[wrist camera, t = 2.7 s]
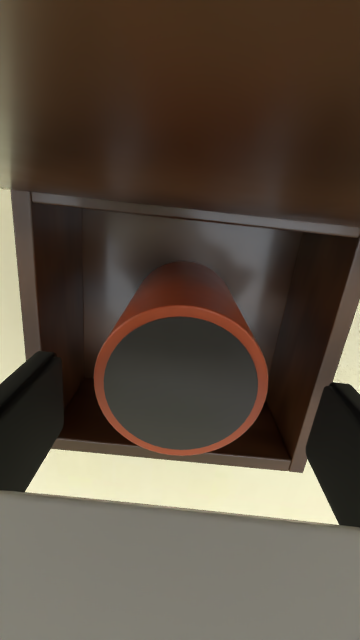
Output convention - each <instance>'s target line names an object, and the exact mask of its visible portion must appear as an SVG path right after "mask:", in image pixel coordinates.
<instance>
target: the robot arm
mask: <svg viewBox="0 0 360 640" xmlns="http://www.w3.org/2000/svg"><path fill="white" fill-rule="evenodd" d="M63 424H64V404H63V377H62V359H61V358H60V357H57V354H56V353H54V352H45V351H37V352H36V353H35V354H34V355H33V356H31V357H30V358H29V359H28V360H27V361H26V362H25V363H24V364H22V365H21V366H20V367H19V368H18V369H17V370H16V371H15V372H13V373H12V374H11V375H10V376H9V377H8V378H7V379H6V380H4V381H3V382H2V383H1V384H0V640H360V394H359V393H358V392H357V391H356V390H355V389H354V388H353V387H352V386H351V385H350V384H343V383H334V382H332V383H330V384H329V386H325V387H324V389H323V392H322V395H321V398H320V402H319V405H318V408H317V411H316V415H315V418H314V421H313V424H312V428H311V431H310V434H309V437H308V441H307V444H306V456H307V459H308V461H309V463H310V465H311V467H312V469H313V471H314V473H315V475H316V477H317V479H318V481H319V484H320V486H321V488H322V490H323V492H324V494H325V496H326V498H327V500H328V502H329V504H330V506H331V509H332V511H333V513H334V515H335V517H336V519H337V521H338V523H339V525H333V524H324V523H315V522H306V521H297V520H288V519H280V518H271V517H262V516H252V515H243V514H234V513H224V512H215V511H206V510H196V509H187V508H177V507H168V506H158V505H149V504H139V503H129V502H119V501H109V500H99V499H89V498H79V497H69V496H59V495H48V494H38V493H27V492H25V491H26V489H27V487H28V486H29V484H30V482H31V481H32V479H33V477H34V476H35V474H36V472H37V471H38V469H39V467H40V466H41V464H42V462H43V461H44V459H45V457H46V456H47V454H48V452H49V451H50V449H51V447H52V446H53V444H54V442H55V441H56V439H57V437H58V436H59V434H60V432H61V430H62V428H63Z"/></svg>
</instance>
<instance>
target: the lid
mask: <svg viewBox="0 0 360 640" xmlns="http://www.w3.org/2000/svg"><path fill="white" fill-rule="evenodd" d="M0 188H2V189H11V190H20V191H29V192H38V193H48V194H57V195H66V196H75V197H84V198H94V199H103V200H112V201H121V202H130V203H140V204H149V205H158V206H167V207H176V208H185V209H195V210H204V211H213V212H222V213H231V214H241V215H250V216H259V217H268V218H277V219H287V220H296V221H305V222H314V223H323V224H333V225H342V226H351V227H360V0H0Z"/></svg>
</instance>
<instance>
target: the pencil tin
mask: <svg viewBox="0 0 360 640" xmlns="http://www.w3.org/2000/svg"><path fill="white" fill-rule="evenodd" d="M94 389H95V394H96V398H97V401H98V404H99V406H100V408H101V410H102V412H103V414H104V416H105V417H106V419H107V420H108V421H109V423H110V424H111V425H112V426H113V427H114V428H115V429H116V430H117V431H118V432H119V433H120V434H121V435H122V436H124V437H125V438H127V439H128V440H130V441H131V442H133V443H135V444H136V445H138V446H140V447H143V448H145V449H148V450H150V451H154V452H157V453H161V454H167V455H178V456H185V455H197V454H203V453H207V452H211V451H213V450H216V449H219V448H221V447H223V446H225V445H227V444H229V443H231V442H233V441H234V440H236V439H237V438H239V437H240V436H241V435H242V434H243V433H245V432H246V431H247V430H248V429H249V427H250V426H251V425H252V424H253V423H254V421H255V420H256V419H257V417H258V416H259V414H260V412H261V410H262V408H263V405H264V402H265V399H266V395H267V390H268V371H267V366H266V362H265V358H264V356H263V354H262V352H261V349H260V347H259V345H258V344H257V342H256V340H255V338H254V336H253V334H252V332H251V331H250V329H249V327H248V325H247V323H246V321H245V319H244V317H243V316H242V314H241V312H240V310H239V308H238V306H237V304H236V302H235V301H234V299H233V297H232V295H231V293H230V291H229V289H228V287H227V286H226V284H225V283H224V281H223V280H222V279H221V278H220V276H218V275H217V274H216V273H215V272H214V271H212V270H211V269H209V268H208V267H206V266H204V265H201V264H198V263H194V262H187V261H180V262H172V263H168V264H165V265H163V266H161V267H159V268H157V269H155V270H154V271H152V272H151V273H150V274H149V275H148V276H147V277H146V278H145V279H144V280H143V282H142V283H141V285H140V286H139V288H138V290H137V291H136V293H135V294H134V296H133V298H132V299H131V301H130V302H129V304H128V306H127V307H126V309H125V311H124V312H123V314H122V315H121V317H120V319H119V320H118V322H117V323H116V325H115V327H114V328H113V330H112V331H111V333H110V335H109V336H108V338H107V339H106V341H105V343H104V344H103V346H102V347H101V350H100V352H99V354H98V357H97V360H96V364H95V369H94Z"/></svg>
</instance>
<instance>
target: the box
mask: <svg viewBox="0 0 360 640" xmlns="http://www.w3.org/2000/svg"><path fill="white" fill-rule="evenodd" d="M11 200H12V211H13V222H14V233H15V244H16V255H17V266H18V277H19V288H20V299H21V310H22V322H23V333H24V344H25V355H26V361H27V360H28V359H29V358H30V357H31V356H33V355H34V354H35V353H36V352H37V351H45V352H54V353H56V354H57V357H60V358H61V359H62V377H63V404H64V424H63V428H62V430H61V432H60V434H59V436H58V437H57V439H56V441H55V442H54V444H53V446H52V447H51V449H60V450H71V451H81V452H91V453H102V454H112V455H123V456H133V457H144V458H154V459H165V460H175V461H186V462H196V463H207V464H217V465H228V466H238V467H249V468H259V469H270V470H280V471H290V472H299V473H303V471H304V468H305V465H306V461H307V456H306V444H307V441H308V437H309V434H310V431H311V428H312V424H313V421H314V418H315V415H316V411H317V408H318V405H319V402H320V398H321V395H322V392H323V389H324V387H325V386H329V384H330V383H332V382H333V379H334V376H335V373H336V370H337V367H338V364H339V361H340V358H341V354H342V351H343V348H344V345H345V342H346V339H347V336H348V333H349V330H350V327H351V324H352V321H353V318H354V315H355V312H356V309H357V306H358V302H359V299H360V227H351V226H342V225H333V224H323V223H314V222H305V221H296V220H287V219H277V218H268V217H259V216H250V215H241V214H231V213H222V212H213V211H204V210H195V209H185V208H176V207H167V206H158V205H149V204H140V203H130V202H121V201H112V200H103V199H94V198H84V197H75V196H66V195H57V194H48V193H38V192H29V191H20V190H11ZM180 261H187V262H194V263H198V264H201V265H204V266H206V267H208V268H209V269H211V270H212V271H214V272H215V273H216V274H217V275H218V276H220V278H221V279H222V280H223V281H224V283H225V284H226V286H227V287H228V289H229V291H230V293H231V295H232V297H233V299H234V301H235V302H236V304H237V306H238V308H239V310H240V312H241V314H242V316H243V317H244V319H245V321H246V323H247V325H248V327H249V329H250V331H251V332H252V334H253V336H254V338H255V340H256V342H257V344H258V345H259V347H260V349H261V352H262V354H263V356H264V358H265V362H266V366H267V371H268V390H267V395H266V399H265V402H264V405H263V408H262V410H261V412H260V414H259V416H258V417H257V419H256V420H255V421H254V423H253V424H252V425H251V426H250V427H249V429H248V430H247V431H246V432H245V433H243V434H242V435H241V436H240V437H239V438H237V439H236V440H234V441H233V442H231V443H229V444H227V445H225V446H223V447H221V448H219V449H216V450H213V451H211V452H207V453H203V454H197V455H185V456H178V455H167V454H161V453H157V452H154V451H150V450H148V449H145V448H143V447H140V446H138V445H136V444H135V443H133V442H131V441H130V440H128V439H127V438H125V437H124V436H122V435H121V434H120V433H119V432H118V431H117V430H116V429H115V428H114V427H113V426H112V425H111V424H110V423H109V421H108V420H107V419H106V417H105V416H104V414H103V412H102V410H101V408H100V406H99V404H98V401H97V398H96V394H95V389H94V369H95V364H96V360H97V357H98V354H99V352H100V350H101V347H102V346H103V344H104V343H105V341H106V339H107V338H108V336H109V335H110V333H111V331H112V330H113V328H114V327H115V325H116V323H117V322H118V320H119V319H120V317H121V315H122V314H123V312H124V311H125V309H126V307H127V306H128V304H129V302H130V301H131V299H132V298H133V296H134V294H135V293H136V291H137V290H138V288H139V286H140V285H141V283H142V282H143V280H144V279H145V278H146V277H147V276H148V275H149V274H150V273H151V272H152V271H154V270H155V269H157V268H159V267H161V266H163V265H165V264H168V263H172V262H180Z"/></svg>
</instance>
